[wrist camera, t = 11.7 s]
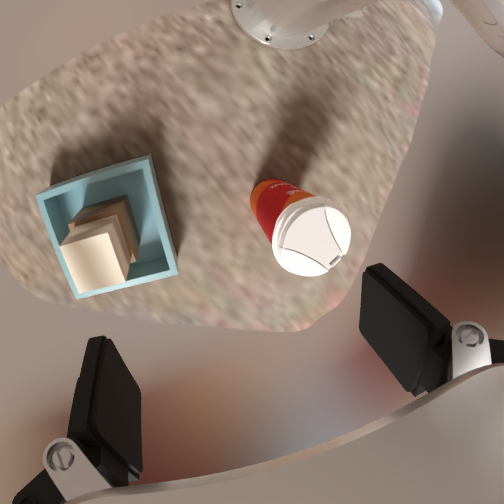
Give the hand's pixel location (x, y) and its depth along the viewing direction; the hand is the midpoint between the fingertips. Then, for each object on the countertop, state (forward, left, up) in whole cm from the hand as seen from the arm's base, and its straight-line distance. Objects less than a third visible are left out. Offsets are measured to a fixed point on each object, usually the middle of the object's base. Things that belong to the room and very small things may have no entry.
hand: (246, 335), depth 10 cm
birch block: (+11, +3, -22) cm, 24 cm away
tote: (+11, +3, -28) cm, 31 cm away
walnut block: (+11, +3, -28) cm, 30 cm away
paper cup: (-9, +5, -28) cm, 30 cm away
